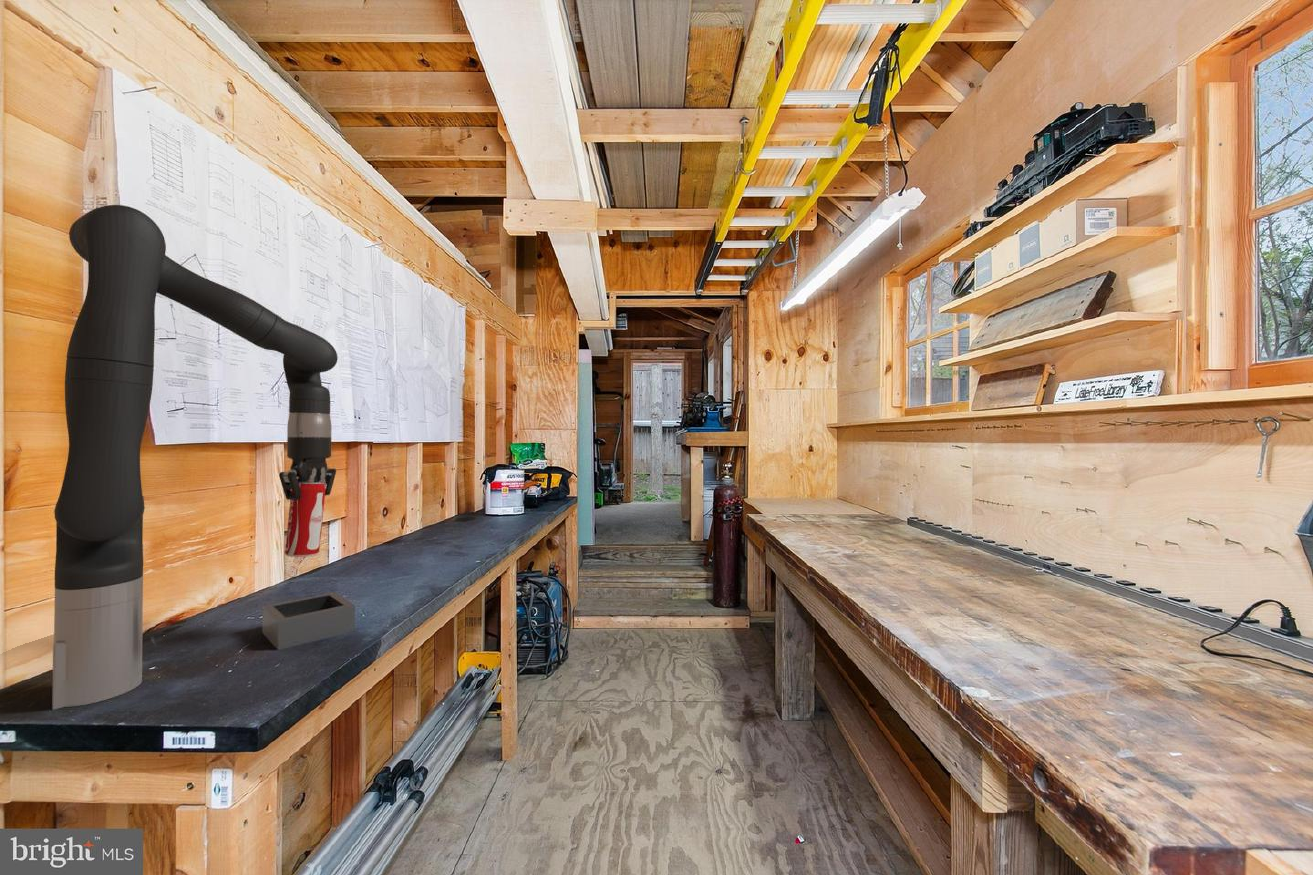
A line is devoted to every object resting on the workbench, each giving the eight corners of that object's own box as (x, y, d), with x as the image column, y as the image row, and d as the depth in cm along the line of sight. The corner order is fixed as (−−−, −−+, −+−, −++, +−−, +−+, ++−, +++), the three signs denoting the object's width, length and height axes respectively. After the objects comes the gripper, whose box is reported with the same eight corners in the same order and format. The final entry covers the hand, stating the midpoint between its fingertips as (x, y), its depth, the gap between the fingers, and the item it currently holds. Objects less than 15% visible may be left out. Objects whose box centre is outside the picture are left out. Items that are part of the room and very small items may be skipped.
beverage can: (281, 555, 102) (283, 481, 102) (318, 550, 106) (320, 479, 107) (289, 559, 98) (291, 483, 98) (327, 554, 102) (329, 481, 103)
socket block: (277, 653, 94) (278, 621, 94) (262, 635, 103) (262, 606, 103) (354, 633, 104) (354, 605, 104) (334, 618, 113) (334, 592, 113)
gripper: (302, 435, 97) (302, 524, 97) (349, 435, 111) (348, 513, 111) (264, 435, 97) (263, 524, 97) (315, 435, 111) (315, 513, 111)
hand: (309, 518), depth 104 cm, fingers closed on beverage can, 3 cm apart
